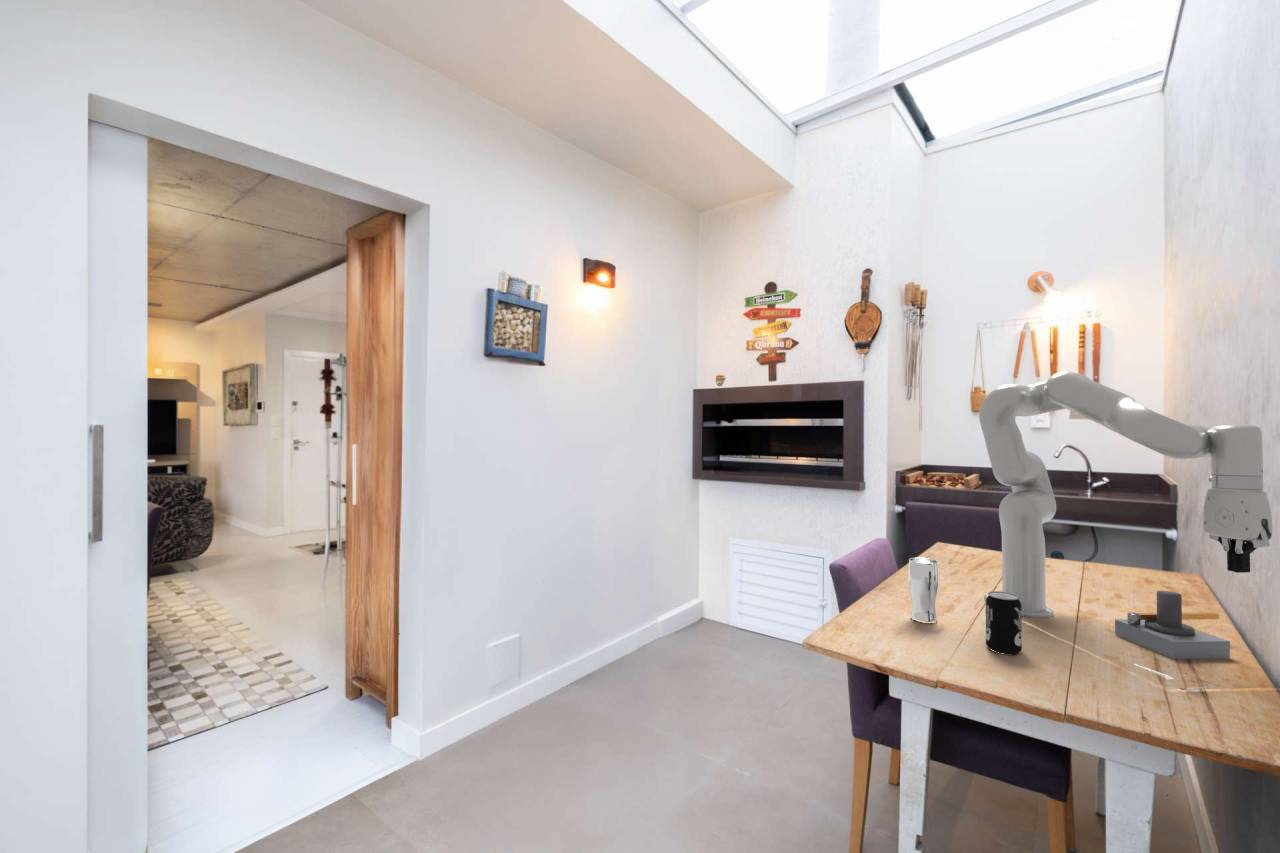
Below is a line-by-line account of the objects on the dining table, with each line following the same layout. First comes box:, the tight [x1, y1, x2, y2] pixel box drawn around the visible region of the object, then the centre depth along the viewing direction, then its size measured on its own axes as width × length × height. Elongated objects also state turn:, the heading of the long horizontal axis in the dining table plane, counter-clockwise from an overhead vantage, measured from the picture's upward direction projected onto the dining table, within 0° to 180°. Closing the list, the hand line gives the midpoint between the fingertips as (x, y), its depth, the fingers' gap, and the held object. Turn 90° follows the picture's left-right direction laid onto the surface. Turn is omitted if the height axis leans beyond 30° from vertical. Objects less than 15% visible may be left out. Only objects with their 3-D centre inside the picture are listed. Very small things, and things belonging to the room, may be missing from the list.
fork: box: [1133, 663, 1210, 691], centre depth 113 cm, size 3×20×2 cm, turn 8°
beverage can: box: [985, 590, 1023, 656], centre depth 124 cm, size 7×7×12 cm
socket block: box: [1114, 618, 1231, 660], centre depth 125 cm, size 12×14×4 cm
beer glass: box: [907, 557, 940, 622], centre depth 144 cm, size 7×7×15 cm
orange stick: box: [1126, 611, 1220, 625], centre depth 128 cm, size 20×2×2 cm, turn 92°
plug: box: [1145, 590, 1196, 636], centre depth 125 cm, size 8×8×12 cm
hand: (1238, 571), depth 119 cm, fingers closed
